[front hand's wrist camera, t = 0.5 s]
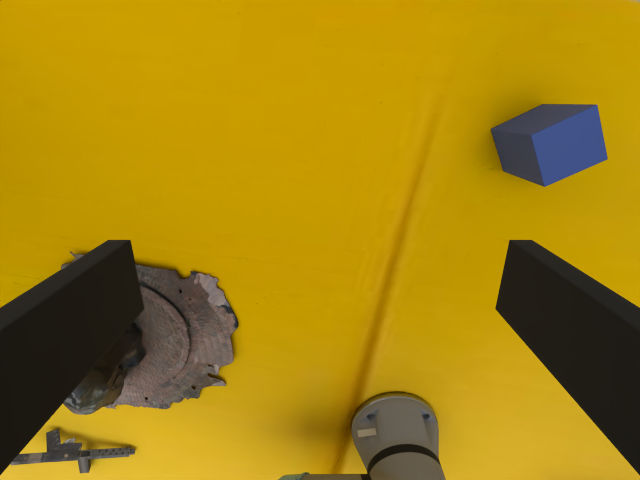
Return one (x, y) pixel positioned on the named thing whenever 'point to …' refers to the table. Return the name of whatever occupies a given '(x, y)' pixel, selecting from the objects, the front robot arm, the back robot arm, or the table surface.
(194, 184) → the table surface
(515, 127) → the brick
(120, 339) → the sculpture
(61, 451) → the toy gun
